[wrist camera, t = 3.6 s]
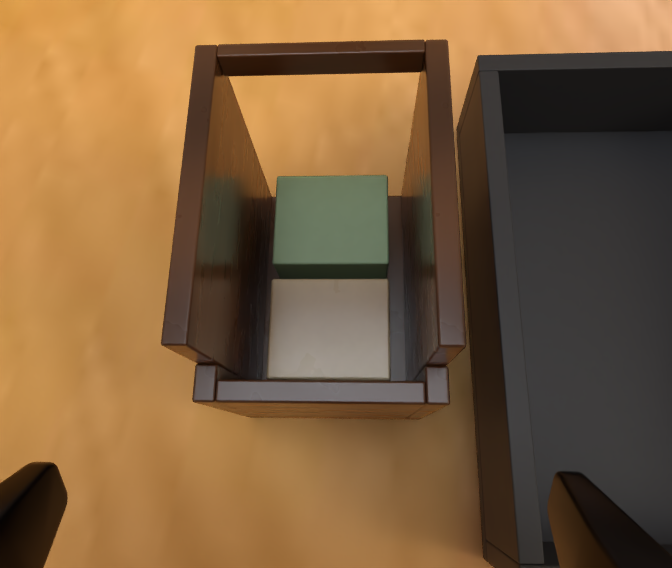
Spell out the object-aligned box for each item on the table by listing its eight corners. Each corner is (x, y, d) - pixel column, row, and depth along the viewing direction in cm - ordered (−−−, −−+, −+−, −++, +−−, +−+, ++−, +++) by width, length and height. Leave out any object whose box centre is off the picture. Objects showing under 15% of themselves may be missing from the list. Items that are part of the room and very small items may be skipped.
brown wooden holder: (420, 419, 20) (469, 395, 11) (248, 417, 20) (154, 392, 11) (413, 203, 22) (448, 37, 13) (261, 204, 23) (195, 44, 14)
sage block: (385, 289, 21) (389, 263, 18) (284, 289, 21) (271, 264, 18) (384, 210, 22) (387, 174, 19) (288, 211, 22) (276, 175, 19)
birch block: (387, 390, 19) (391, 380, 16) (279, 389, 20) (265, 379, 17) (385, 301, 20) (389, 278, 18) (283, 301, 21) (271, 278, 18)
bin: (825, 568, 18) (977, 607, 13) (483, 558, 18) (520, 593, 14) (719, 124, 23) (803, 47, 18) (456, 128, 23) (477, 54, 19)
